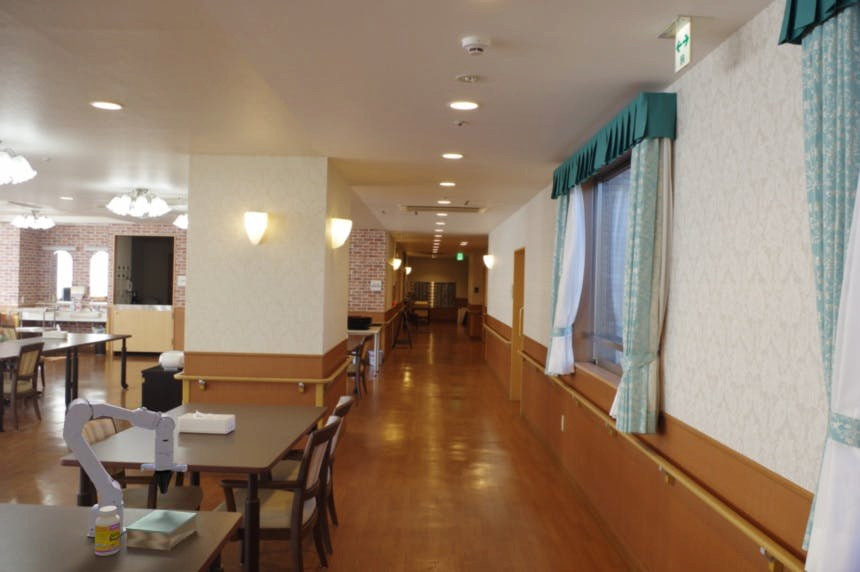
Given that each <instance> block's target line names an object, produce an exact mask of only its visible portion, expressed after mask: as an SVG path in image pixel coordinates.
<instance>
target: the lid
mask: <svg viewBox="0 0 860 572" xmlns="http://www.w3.org/2000/svg"><path fill="white" fill-rule="evenodd" d="M195 516H196V517H197V516H198V513H197V512H189V511H188V512H187V511H174V510H163V509H154V511H153V510H152V511H151V512H150V513H148V514H146V515H145V516H143V517H141V518H140V519H139V520H137V521H134V522H133V523H132V524H130V525H128V526H125V527H126V530H131V531H142V532H153V533H163V534H170V533H172V532H173V531H174V530H176V529H177V528H179V527H180V526H182V525H183V524H185V523H186V522H188V521H189V520H190V519H192V518H193V517H195Z"/></svg>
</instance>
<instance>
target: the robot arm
mask: <svg viewBox="0 0 860 572" xmlns="http://www.w3.org/2000/svg"><path fill="white" fill-rule="evenodd" d="M104 416H105V417H110V418H114V419H120V420H124V421H128V422H129V423H130V425H131V426H133V427H136V428H141V429H146V430H149V431H153V430H155V437H154V462H152V463H151V462H150V463H142V464H141V465H140V472H145V471H147V472H149V471H151V472H154V473H153V474H152V475H153V478H154V479H155V481H156V483H157V485H158V488H159V491H160V495H165V494H167V493H168V490H169V485H170V483H171V480H172V478H173V475H174V474H175V472H182V473H186V472H187V471H188V464H185V463H179V462H178V463H177V462H174V459H175V458H174V457H175V456H174V454H175V453H174V452H175V450H174V449H175V444H174V443H175V442H174V441H175V438H174V434H175V433H174V430H175V429H176V423H175V421H174V418H173V417H172V416H171V415H170V414H167V413H166V412H162V411H157V412H156V411H152V410H148V408H147V407H145V406H142V408H140V407H138V408H135V409H133V410H131V409H128V408H125V407H121V406H118V405H114V404H111V403H107V402H103V401H99V400H95V399H86V398H83V397H79V398H75V399H73V400H72V401H70V403H69V404H68V405H67V408H66V411H65V414H64V423H63V429H62V430H63V431H62V439H63V440H64V442H66V444H67V446H68V447H69V449H70V450H71V452H72V453H73V455H74V456H75V458H76V459H77V460H78V462H79V464H80V465H81V467H82V469H83V470H84V472H85V473H86V474H87V476H88V477H89V479H90V480H91V482H92V484H93V485H94V487H95V489H96V491H97V493H98V495H99V498H100V499H99V503H95V504H94V505H93V506H91V509H90V510H89V513H88V534H86V537H92V538H95V521H96V519H97V518H98V517H100V515H99V509H100V508H102V507H105V506H116V507H117V512H116V515H118V516H119V517H120V536H121V535H122V534H124V533H125V532H126V533H127V530H126V527H127V526H124V500H123V498H124V494H123V492H122V486H121V484H120V483H119V481H117V480H115V479H113V477H111V475H110V474H109V472H108V471H107V470H106V468H105V467H104V466H103V464H102V463H101V461H100V460H99V458H98V457H97V455H96V454H95V452H94V451H93V449H92V448H91V446H90V444H89V443H88V441H87V440H86V438H85V437H84V435H83V429H84V428H85V426H86V425H87V423H88V421H89V420H90V418H91V417H92V419H94V420H95V419H97V418H101V417H104Z"/></svg>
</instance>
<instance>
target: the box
mask: <svg viewBox="0 0 860 572" xmlns="http://www.w3.org/2000/svg"><path fill="white" fill-rule="evenodd" d="M194 531H195V532H196V531H197V515H196V516H195V517H193V518H192V519H190V520H189V521H188V522H186V523H185V524H183V525H182V526H180V527H179V528H177V529H176V530H174V531H173V532H172V533H170V534H163V533H153V532H142V531H131V530H127V531H126V547H129V546H131V547H130V548H139V547H141V549H149V550H150V549H151V550H159V549H160V550H159V551H161V550H162V551H170V550H172V549H173V548H175V547H176V546H177V545H178V543H179V542H180V543H181V542H182V540H183V539H184V540H185V539H187V538H188V537H189V535H190V534H191V535H193V534H194V533H195V532H194ZM193 532H194V533H193ZM191 535H190V536H191ZM187 536H188V537H187ZM186 537H187V538H186ZM184 540H183V541H184ZM180 543H179V544H180ZM176 544H177V545H176ZM175 545H176V546H175ZM172 547H173V548H172ZM171 548H172V549H171Z"/></svg>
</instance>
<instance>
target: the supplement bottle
mask: <svg viewBox="0 0 860 572" xmlns="http://www.w3.org/2000/svg"><path fill="white" fill-rule="evenodd" d="M116 512H117V507H116V506H105V507H102V508H100V509H99V515H100V517H98V518H97V519H96V521H95V537H94V553H95V555H97V556H102V557H107V556H111V555H114V554H116V553H118V552H119V551H120V550H121V535H120V517H119V516H118V515H116Z"/></svg>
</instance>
